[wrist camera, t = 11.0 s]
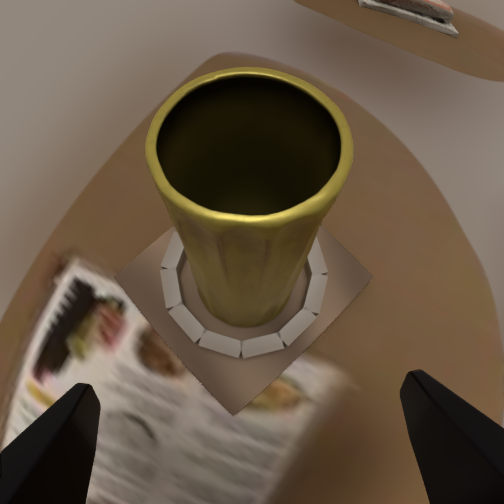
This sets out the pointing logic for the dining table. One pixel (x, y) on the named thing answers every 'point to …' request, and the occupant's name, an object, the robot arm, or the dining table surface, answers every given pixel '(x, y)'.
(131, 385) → the dining table surface
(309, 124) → the vase
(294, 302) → the socket board
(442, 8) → the packaged product
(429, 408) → the robot arm
